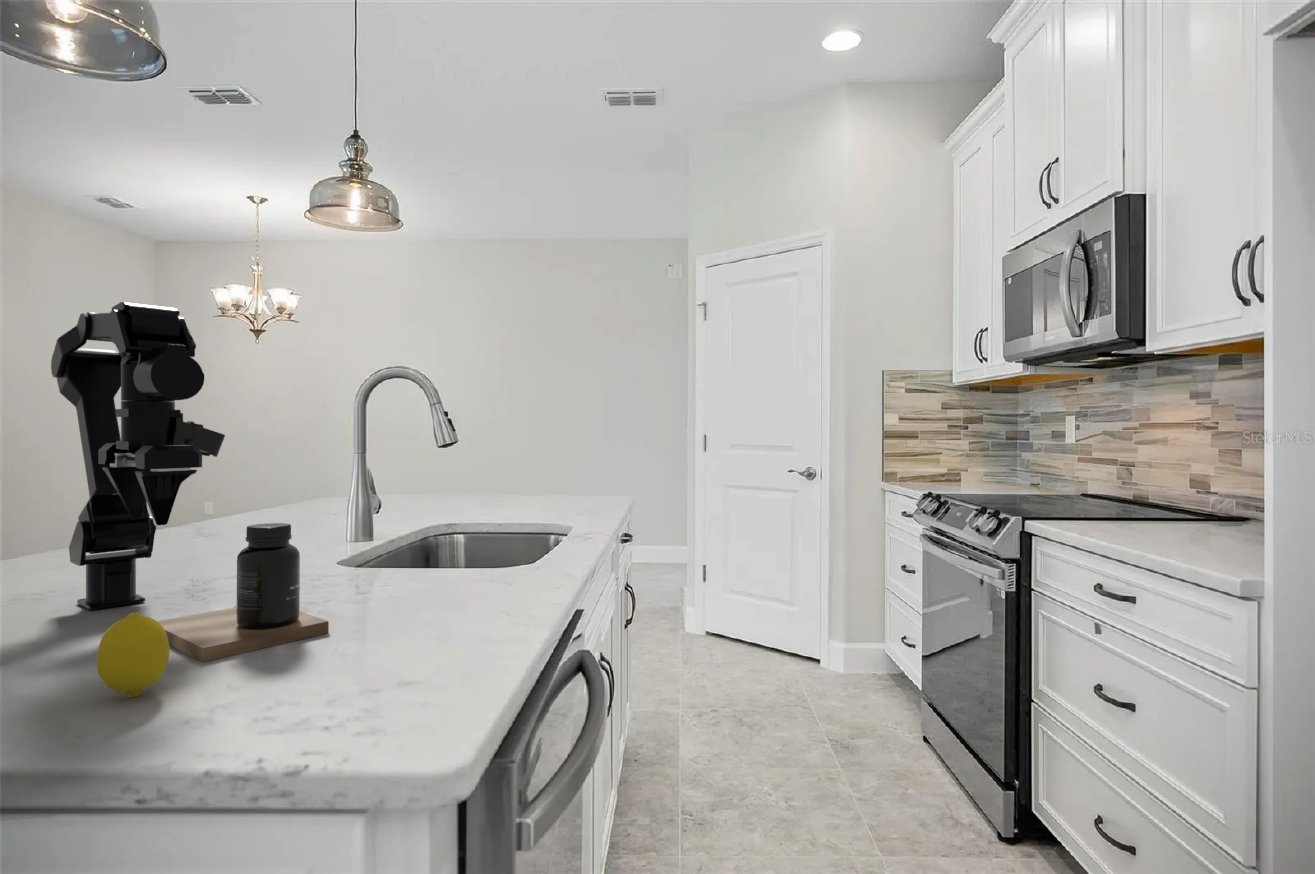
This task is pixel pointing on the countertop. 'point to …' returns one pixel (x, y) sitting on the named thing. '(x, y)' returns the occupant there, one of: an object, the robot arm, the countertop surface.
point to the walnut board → (233, 633)
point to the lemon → (133, 654)
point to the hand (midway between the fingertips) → (148, 521)
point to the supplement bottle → (268, 578)
